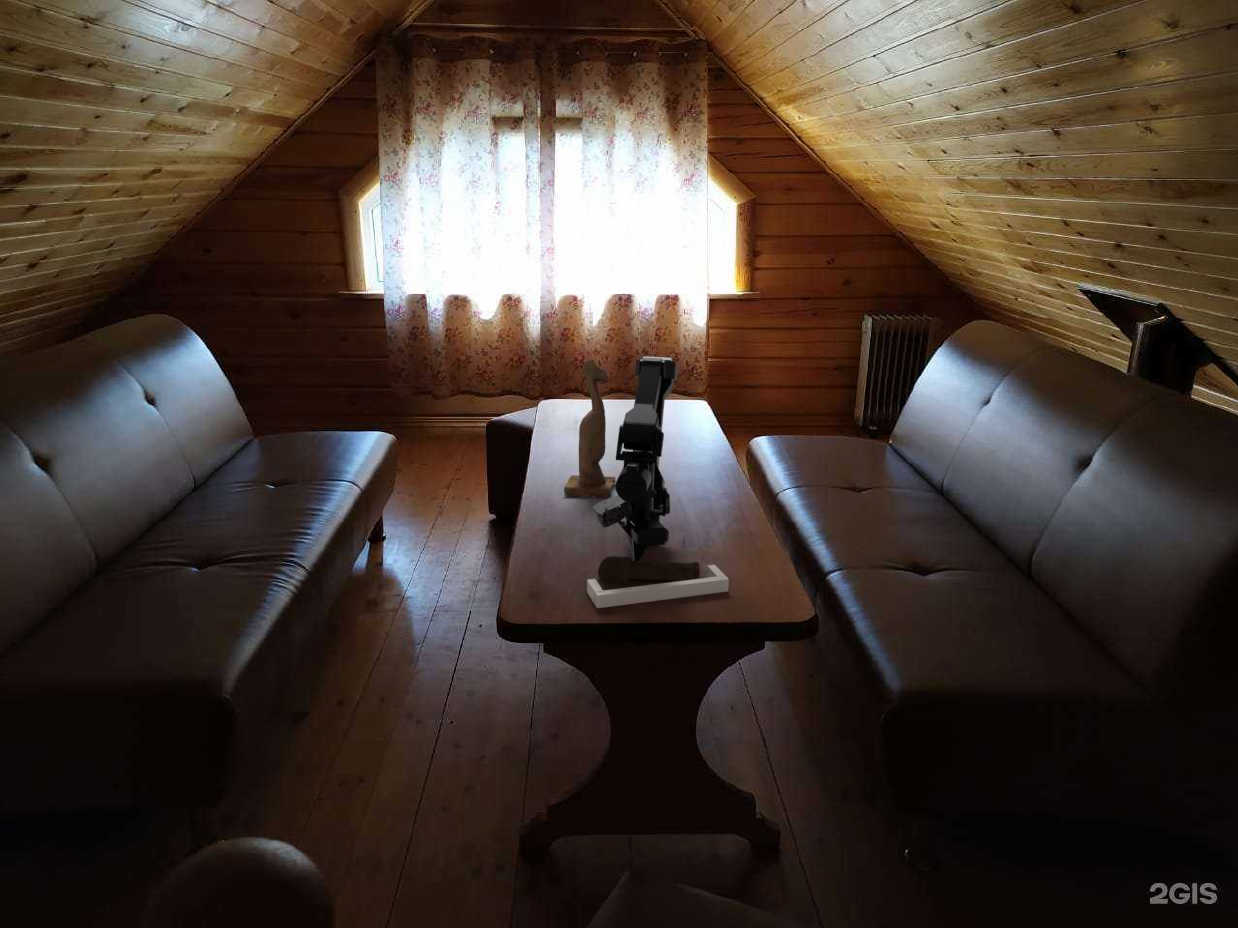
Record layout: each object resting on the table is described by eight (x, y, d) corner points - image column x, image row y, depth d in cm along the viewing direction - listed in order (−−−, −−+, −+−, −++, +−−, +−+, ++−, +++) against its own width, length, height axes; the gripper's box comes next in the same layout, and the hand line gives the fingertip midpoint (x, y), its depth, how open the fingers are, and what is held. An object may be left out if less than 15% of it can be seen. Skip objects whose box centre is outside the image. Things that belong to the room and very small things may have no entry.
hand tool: (699, 578, 167) (700, 555, 166) (699, 587, 164) (700, 564, 162) (600, 573, 169) (600, 550, 167) (597, 582, 165) (598, 559, 164)
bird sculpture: (613, 500, 207) (620, 366, 197) (563, 497, 207) (568, 363, 198) (615, 485, 218) (622, 357, 208) (568, 482, 218) (572, 354, 208)
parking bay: (587, 592, 160) (587, 579, 159) (713, 576, 167) (714, 564, 167) (597, 608, 154) (597, 595, 153) (728, 591, 162) (728, 578, 161)
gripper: (584, 472, 173) (584, 546, 178) (612, 504, 156) (611, 585, 161) (638, 468, 176) (636, 540, 181) (671, 499, 159) (668, 578, 164)
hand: (636, 560), depth 171 cm, fingers closed
